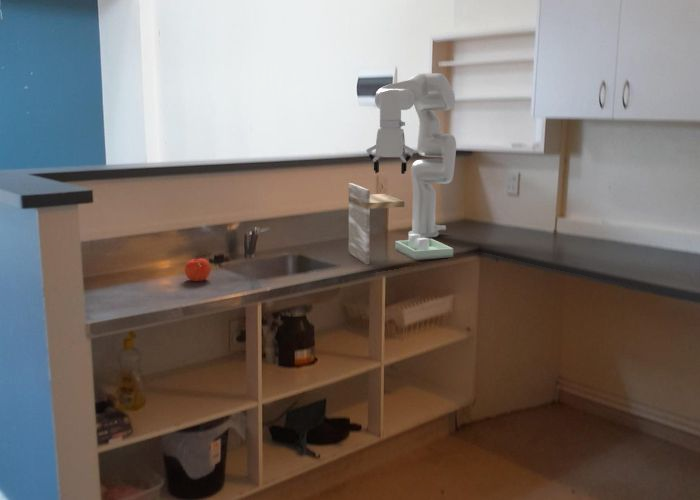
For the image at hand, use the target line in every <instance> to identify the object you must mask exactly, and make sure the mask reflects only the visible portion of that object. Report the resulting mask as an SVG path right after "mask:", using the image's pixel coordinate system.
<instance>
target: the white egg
mask: <svg viewBox="0 0 700 500" xmlns="http://www.w3.org/2000/svg"><path fill="white" fill-rule="evenodd" d="M429 239H430V238H417V251H418V250H429Z"/></svg>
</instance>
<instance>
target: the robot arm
mask: <svg viewBox="0 0 700 500" xmlns="http://www.w3.org/2000/svg"><path fill="white" fill-rule="evenodd" d="M374 102H375V106H376V108H377V109H379V128H378V129H377V134H376V142H375V145H373V146H371V147H369V148H367V149H366V154H367V155H368V156H369V157H368V158H370V159H371V160H372V162H373V171H374V172H375V173H374V174H378V173H380V172H379V171H380V162H379V159H380V158H400V160H401V168H400V169H401V175H404V174H405V173H406V172H407V163H408V161H410V159H411V158H412V157H413V155H414V153H415V149H413V148H411V147H409V146H407V145H406V141H405V138H406V137H405V131H404V129H403V128H402V127H403V126H406V122H405V121H402V111H407V110H410V109H411V108H413V106H414V108H415V109H414V110H415V112H416V114H417V117H418V120H419V121H418V122H419V124H418V125H419V126H418V128H419V129H418V137H417V147H416V149H417V153H418V154H419V155H420V156H422V157H430V158H442V160H441V159H424V158H423V159H417V160H415V161H414V162H413V163H412V164H411V168H410V174H411V181H412V218H411V219H412V224H411V227H412V229H411V230H410V231H408V236H409V234H420V238H429V239H431V238H436V237H439V235H440V234H439V231H446V230H447V227H446V225H440V224H436V212H437V211H436V208H437V207H436V206H437V205H436V204H437V203H436V202H437V201H436V200H437V194H436V193H437V192H436V190H435V189H434V187H433V185H432V184H441V185H442V184H444V185H445V184H450V183H452V181H453V178H454V174H455V165H456V152H457V140H456V138H455V136H454V135H453V134H450V133H440V129H441V120H440V119H439V117H438V115H437V113H435V111H449V110H451V109H452V108H454V106H455V102H456V97H455V93H454V90H453V88H452V86H451V84H450V82H449V80H448V78H447V77H446V76H445V75H444V74H443V73H440V72H439V73H437V72H436V73H435V72H434V73H432V72H431V73H429V72H427V73H425V72H423V73H417V74H415V75H413V76H412V77H410V78H408V79H407V80H402V81H398V82H394V83H390V84H387V85H384V86H382V87H380V88H379V89H378V90H377V91H376V93H375V96H374ZM374 150H375V155H374V154H373V151H374ZM406 151H407V152H408V155H407V156H405V155H406Z"/></svg>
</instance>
